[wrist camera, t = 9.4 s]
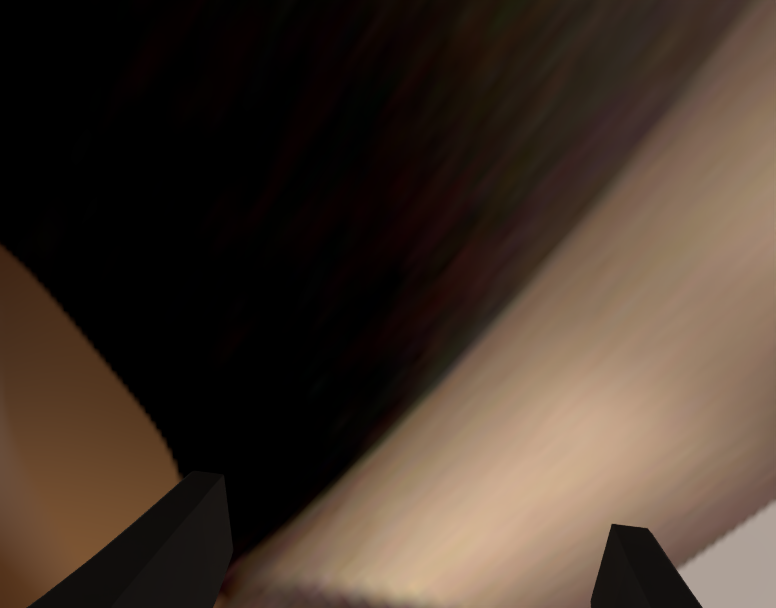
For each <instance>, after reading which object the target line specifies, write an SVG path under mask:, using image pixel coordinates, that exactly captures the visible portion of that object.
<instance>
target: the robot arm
mask: <svg viewBox="0 0 776 608" xmlns="http://www.w3.org/2000/svg"><path fill="white" fill-rule="evenodd" d="M232 552H233V545H232V537H231V529H230V521H229V513H228V505H227V497H226V489H225V481H224V475H223V474H215V473H207V472H199V471H193V472H191V473H190V474H189V475H188V476H186V477H185V478H184V479H183V480H182V481H181V482H179V483H178V484H177V485H176V486H175V487H174V488H173V489H172V490H170V491H169V492H168V493H167V494H166V495H165V496H164V497H162V498H161V499H160V500H159V501H158V502H157V503H156V504H155V505H153V506H152V507H151V508H150V509H149V510H148V511H147V512H145V513H144V514H143V515H142V516H141V517H139V518H138V519H137V520H136V521H135V522H134V523H133V524H132V525H130V526H129V527H128V528H127V529H125V530H124V531H123V532H122V533H121V534H120V535H118V536H117V537H116V538H115V539H114V540H112V541H111V542H110V543H109V544H108V545H107V546H106V547H104V548H103V549H102V550H100V551H99V552H98V553H97V554H96V555H95V556H93V557H92V558H91V559H90V560H88V561H87V562H86V563H85V564H83V565H82V566H81V567H79V568H78V569H77V570H76V571H75V572H73V573H72V574H70V575H69V576H68V577H67V578H65V579H64V580H63V581H61V582H60V583H59V584H57V585H56V586H55V587H54V588H52V589H51V590H50V591H48V592H47V593H46V594H45V595H44V596H42V597H41V598H39V599H38V600H36V601H35V602H34V603H32V604H31V605H30V606H28V607H27V608H213V606H214V604H215V601H216V598H217V596H218V593H219V590H220V587H221V585H222V582H223V579H224V576H225V573H226V570H227V567H228V564H229V561H230V558H231V555H232ZM591 608H702V606H701V605H700V603H699V602H698V600H697V599H696V597H695V596H694V595H693V593H692V592H691V590H690V589H689V587H688V586H687V585H686V583H685V582H684V580H683V579H682V577H681V576H680V574H679V573H678V571H677V570H676V568H675V567H674V566H673V564H672V563H671V561H670V560H669V558H668V557H667V555H666V554H665V552H664V551H663V549H662V548H661V546H660V545H659V543H658V542H657V540H656V539H655V537H654V536H653V534H652V533H651V532H650V531H649V529H648V528H641V527H633V526H625V525H617V524H612V525H611V529H610V532H609V536H608V540H607V543H606V547H605V551H604V554H603V558H602V561H601V565H600V569H599V572H598V576H597V580H596V583H595V587H594V590H593V594H592V598H591Z"/></svg>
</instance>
